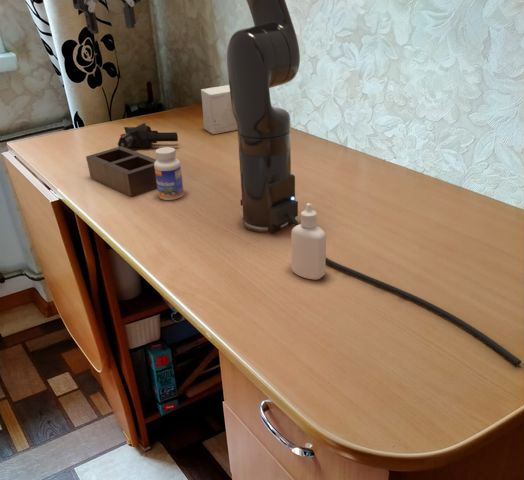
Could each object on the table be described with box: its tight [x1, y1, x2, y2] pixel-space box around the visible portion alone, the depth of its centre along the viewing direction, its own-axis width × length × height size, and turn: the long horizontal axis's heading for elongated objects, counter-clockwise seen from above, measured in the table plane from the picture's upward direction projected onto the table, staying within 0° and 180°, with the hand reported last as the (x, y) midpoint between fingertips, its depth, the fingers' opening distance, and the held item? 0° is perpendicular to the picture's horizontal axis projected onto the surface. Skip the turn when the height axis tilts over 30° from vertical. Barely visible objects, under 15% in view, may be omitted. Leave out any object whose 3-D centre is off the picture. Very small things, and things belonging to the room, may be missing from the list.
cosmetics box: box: [200, 84, 238, 135], centre depth 156 cm, size 10×6×10 cm, turn 119°
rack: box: [85, 146, 157, 198], centre depth 129 cm, size 17×9×5 cm, turn 44°
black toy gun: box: [117, 122, 179, 149], centre depth 148 cm, size 5×20×15 cm
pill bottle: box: [154, 146, 184, 201], centre depth 120 cm, size 5×5×10 cm
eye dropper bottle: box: [290, 202, 327, 281], centre depth 91 cm, size 4×6×12 cm
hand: (113, 30), depth 119 cm, fingers open, 8 cm apart
